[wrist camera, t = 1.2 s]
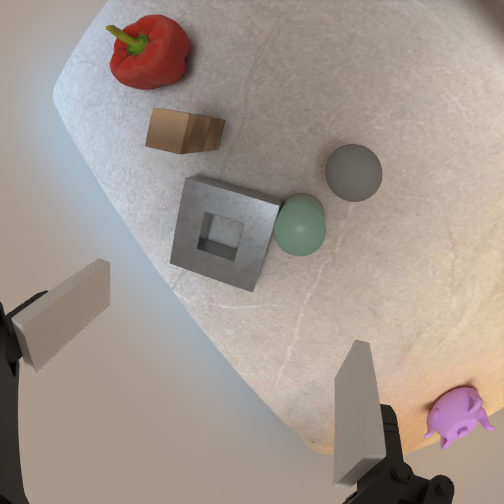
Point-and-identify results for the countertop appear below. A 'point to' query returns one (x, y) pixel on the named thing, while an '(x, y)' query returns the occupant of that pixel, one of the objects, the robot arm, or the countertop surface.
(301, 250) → the green round bit
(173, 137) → the walnut square peg
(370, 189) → the light bulb
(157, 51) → the vegetable
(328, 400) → the countertop surface
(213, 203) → the bore block
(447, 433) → the teapot
